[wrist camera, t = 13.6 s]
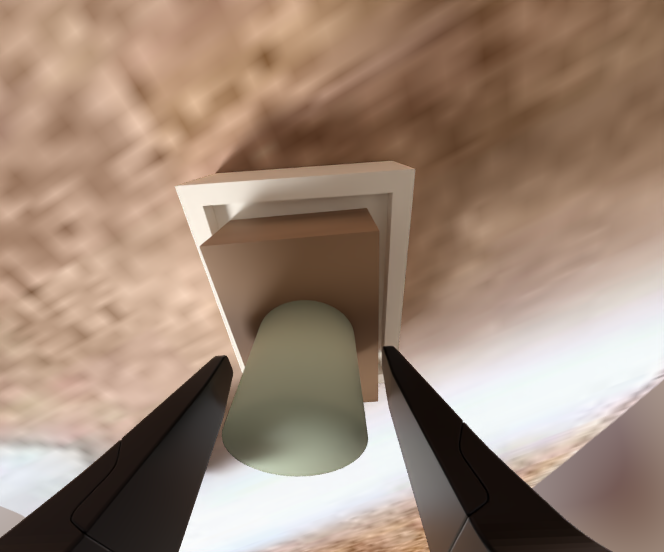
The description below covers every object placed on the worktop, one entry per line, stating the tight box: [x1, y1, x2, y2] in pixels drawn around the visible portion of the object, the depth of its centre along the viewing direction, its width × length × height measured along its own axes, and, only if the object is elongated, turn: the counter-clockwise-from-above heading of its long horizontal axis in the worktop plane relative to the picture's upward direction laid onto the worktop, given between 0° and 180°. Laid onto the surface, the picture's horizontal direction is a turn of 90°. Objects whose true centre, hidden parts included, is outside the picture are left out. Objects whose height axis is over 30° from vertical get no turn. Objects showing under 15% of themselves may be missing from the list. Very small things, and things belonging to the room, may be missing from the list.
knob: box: [222, 300, 368, 476], centre depth 9 cm, size 4×4×4 cm
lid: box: [199, 208, 380, 402], centre depth 12 cm, size 9×6×3 cm, turn 5°
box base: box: [175, 161, 416, 383], centre depth 14 cm, size 12×9×4 cm
